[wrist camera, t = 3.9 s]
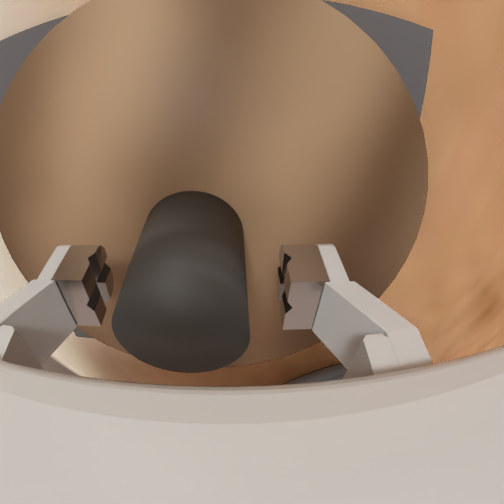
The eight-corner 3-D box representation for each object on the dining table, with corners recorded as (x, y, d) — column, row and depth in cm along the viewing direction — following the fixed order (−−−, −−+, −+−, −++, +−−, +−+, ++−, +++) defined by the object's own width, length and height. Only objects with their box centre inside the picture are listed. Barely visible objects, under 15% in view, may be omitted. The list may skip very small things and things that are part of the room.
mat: (423, 29, 7) (433, 30, 7) (346, 329, 16) (349, 337, 16) (-1, 44, 6) (-11, 46, 6) (79, 328, 15) (76, 336, 15)
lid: (444, 22, 7) (566, 45, 2) (354, 342, 16) (378, 425, 12) (-20, 38, 5) (-127, 74, 1) (72, 340, 15) (49, 420, 11)
